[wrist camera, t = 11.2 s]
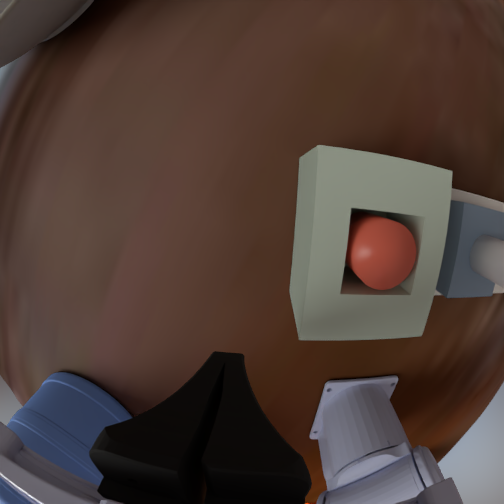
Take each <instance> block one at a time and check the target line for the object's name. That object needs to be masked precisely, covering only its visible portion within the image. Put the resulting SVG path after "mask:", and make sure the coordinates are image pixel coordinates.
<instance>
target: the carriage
mask: <svg viewBox="0 0 504 504" xmlns="http://www.w3.org/2000/svg"><path fill="white" fill-rule="evenodd" d="M495 283H496V284H497V285H499V286H501V287H502V288H504V212H500V211H496V210H493V209H489V208H485V207H482V206H478V205H474V204H470V203H465V202H460V201H454V200H451V202H450V212H449V220H448V228H447V235H446V241H445V247H444V253H443V258H442V263H441V268H440V272H439V277H438V281H437V285H436V289H435V290H437V291H438V292H439V293H441V294H442V295H443V296H445V297H446V298H461V297H483V296H492V294H493V290H494V286H495Z"/></svg>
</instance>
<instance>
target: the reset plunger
mask: <svg viewBox="0 0 504 504" xmlns="http://www.w3.org/2000/svg"><path fill="white" fill-rule="evenodd" d="M415 258H416V244H415V240H414V238H413V236H412V234H411V232H410V231H409V230H408V229H407V227H405V226H404V225H402V224H401V223H398V222H396V221H393V220H390V219H387V218H384V217H381V216H378V215H375V214H372V213H369V212H356V213H353V214H351V215H350V225H349V234H348V243H347V251H346V258H345V263H346V264H347V265H348V266H349V267H350V268H351V269H352V270H353V272H354V273H355V274H356V275H357V276H358V277H359V278H360V279H361V280H362V281H363V282H364V283H365V284H366V285H367V286H369V287H371V288H373V289H377V290H386V289H390V288H393V287H395V286H397V285H399V284H400V283H401V282H402V281H404V280H405V279H406V277H407V276H408V275H409V273H410V272H411V270H412V268H413V265H414V263H415Z"/></svg>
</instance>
